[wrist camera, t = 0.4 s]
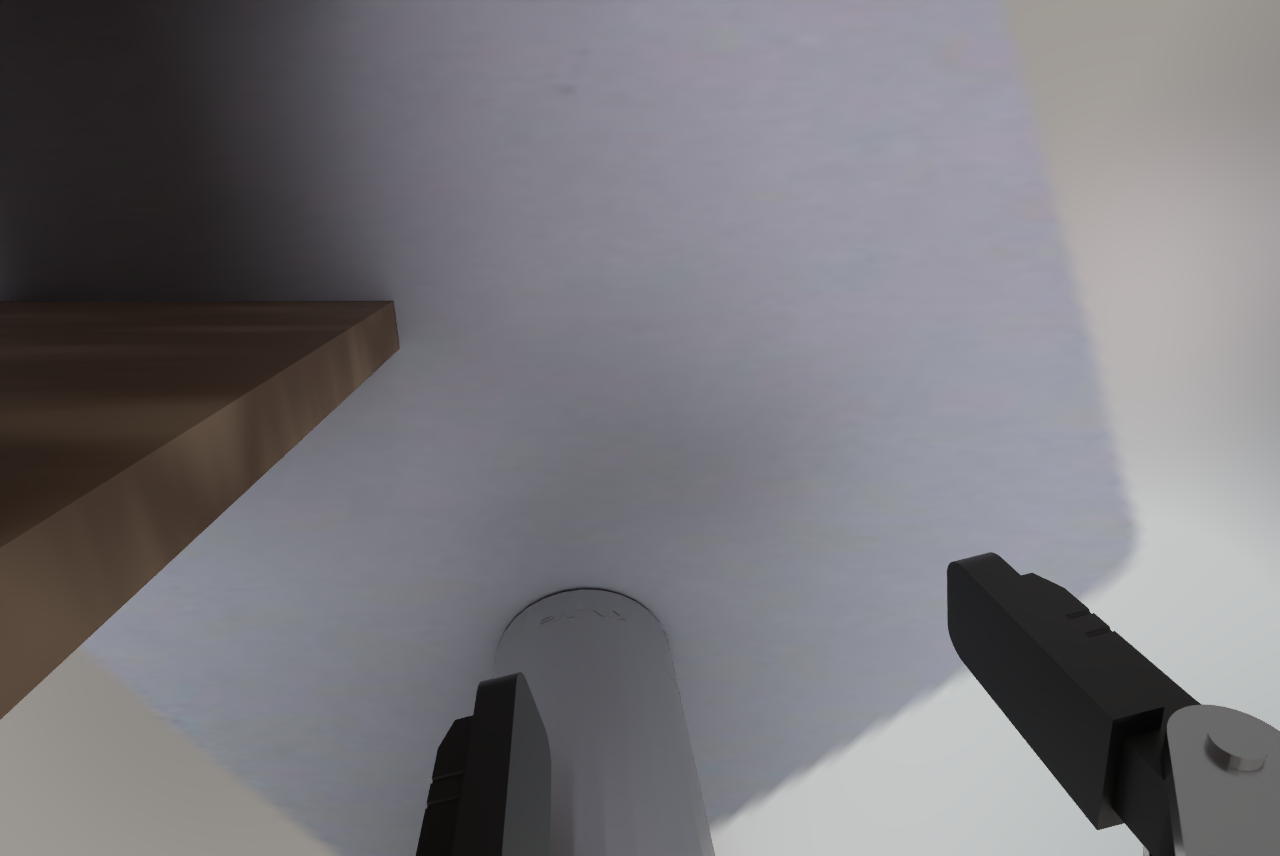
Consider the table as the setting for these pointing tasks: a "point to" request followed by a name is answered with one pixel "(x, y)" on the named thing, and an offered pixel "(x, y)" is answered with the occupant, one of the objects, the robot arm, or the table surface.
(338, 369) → the walnut rack
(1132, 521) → the table surface
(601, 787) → the robot arm
